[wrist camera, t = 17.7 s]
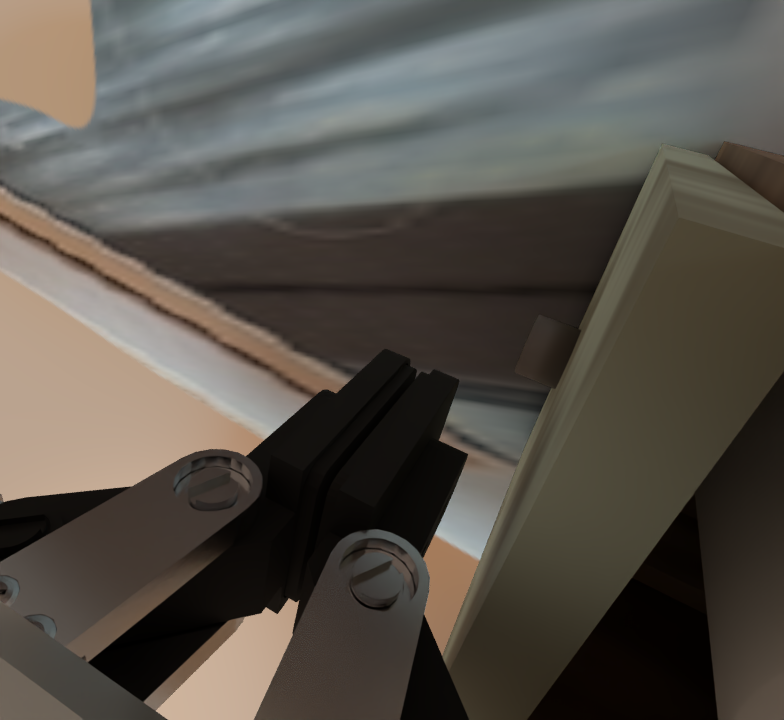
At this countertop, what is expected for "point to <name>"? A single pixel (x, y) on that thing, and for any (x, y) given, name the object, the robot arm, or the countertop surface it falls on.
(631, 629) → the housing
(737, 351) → the green-fronted drawer
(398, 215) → the countertop surface
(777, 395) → the beverage can
